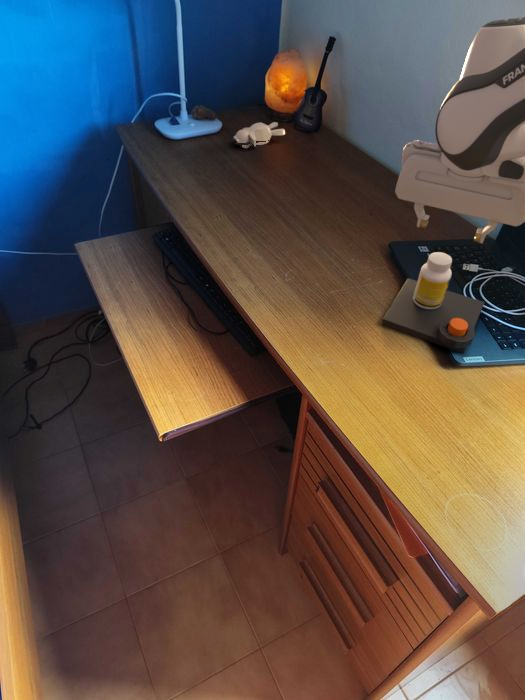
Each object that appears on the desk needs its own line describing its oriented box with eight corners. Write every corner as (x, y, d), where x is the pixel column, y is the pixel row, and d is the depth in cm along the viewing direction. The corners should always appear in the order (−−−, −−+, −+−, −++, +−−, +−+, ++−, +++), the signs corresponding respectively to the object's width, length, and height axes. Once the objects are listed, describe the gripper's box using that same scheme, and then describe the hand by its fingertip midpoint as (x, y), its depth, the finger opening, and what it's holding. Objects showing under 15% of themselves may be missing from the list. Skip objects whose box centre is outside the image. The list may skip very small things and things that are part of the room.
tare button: (467, 328, 81) (470, 321, 80) (462, 339, 80) (465, 332, 78) (450, 323, 83) (452, 315, 81) (445, 333, 81) (447, 325, 80)
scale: (484, 308, 89) (490, 296, 87) (464, 358, 80) (469, 346, 78) (406, 283, 95) (409, 271, 92) (379, 327, 86) (382, 315, 84)
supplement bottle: (445, 310, 87) (460, 267, 80) (415, 310, 87) (428, 267, 80) (438, 292, 90) (451, 249, 83) (409, 292, 91) (421, 249, 83)
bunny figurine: (229, 127, 142) (274, 114, 144) (232, 144, 146) (275, 130, 148) (239, 139, 136) (286, 124, 138) (242, 156, 140) (287, 141, 142)
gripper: (398, 145, 70) (383, 226, 80) (545, 173, 62) (509, 259, 72) (411, 130, 74) (396, 210, 84) (552, 155, 66) (516, 240, 76)
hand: (449, 233), depth 78 cm, fingers open, 8 cm apart
